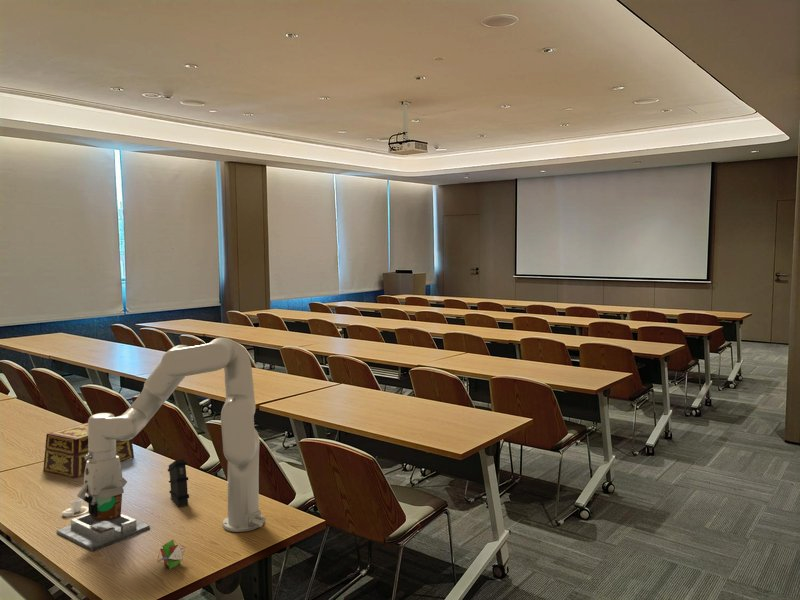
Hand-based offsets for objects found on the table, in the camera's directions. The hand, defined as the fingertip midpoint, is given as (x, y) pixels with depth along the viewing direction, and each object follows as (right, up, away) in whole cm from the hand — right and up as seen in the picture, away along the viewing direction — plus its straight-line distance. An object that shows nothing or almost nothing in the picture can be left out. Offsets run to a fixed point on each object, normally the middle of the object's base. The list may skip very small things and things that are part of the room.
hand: (103, 511), depth 183 cm
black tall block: (+14, -5, +25) cm, 29 cm away
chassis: (0, -6, 0) cm, 6 cm away
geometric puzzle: (+29, -8, -20) cm, 36 cm away
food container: (-1, -2, 0) cm, 2 cm away
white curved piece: (-19, -6, +14) cm, 24 cm away
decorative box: (-35, -2, +60) cm, 70 cm away
